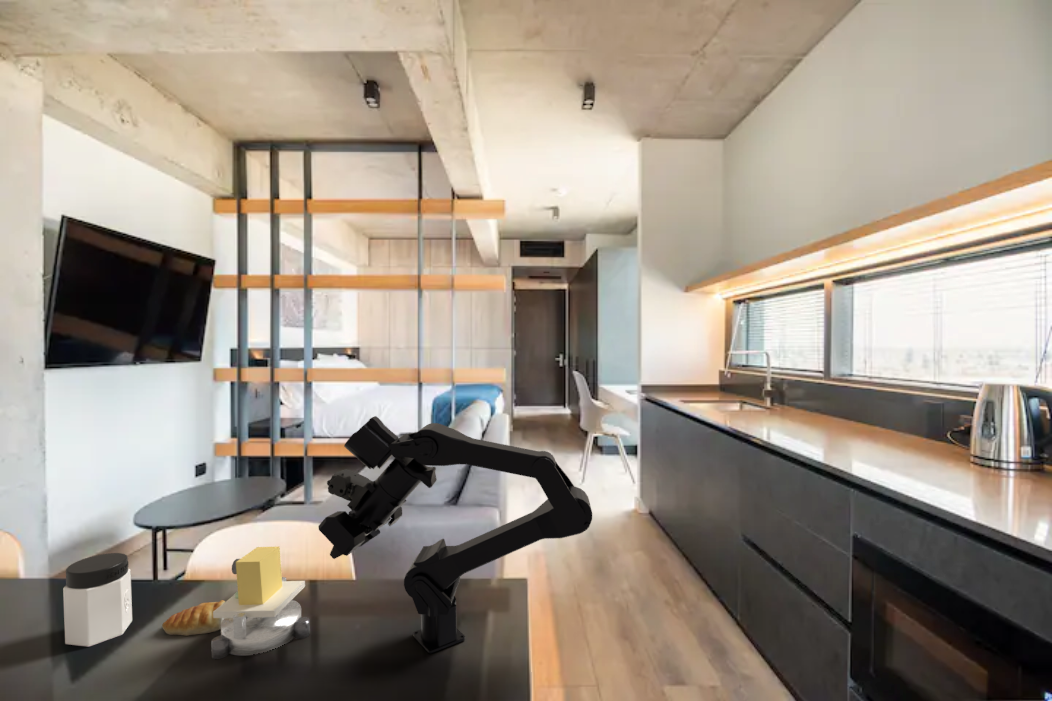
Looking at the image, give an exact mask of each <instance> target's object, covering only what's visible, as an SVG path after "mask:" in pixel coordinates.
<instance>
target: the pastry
mask: <svg viewBox="0 0 1052 701" xmlns="http://www.w3.org/2000/svg"><path fill="white" fill-rule="evenodd" d="M225 602H226V601H225V600H224V599H221V600H219V601H213V602H212V601H211V602H210V601H209V602H201V603H200V604H198V605H194V606H191V607H188V608H185V609H182V611H179V612H176V613H175V614H172V615H171V616H170V617H168V618H167V619H166V620H165V621H164V622H163V623H162V626H161V627H162V629H163V630H164V632H165V634H167V635H172V636H174V635H178V636H187V637H188V636H191V635H204V634H208V633H214V632H218V631H219V630H221V623H222V621H223V619H224V618H213V611H215V610H216V609H217V608H218V607H220V606H221V605H222V604H223V603H225Z"/></svg>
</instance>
